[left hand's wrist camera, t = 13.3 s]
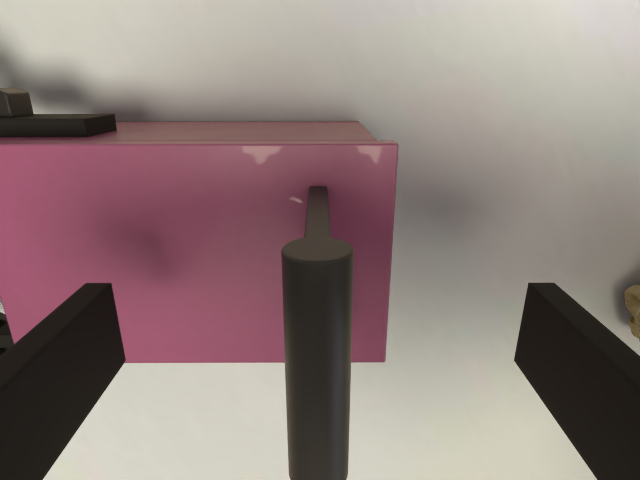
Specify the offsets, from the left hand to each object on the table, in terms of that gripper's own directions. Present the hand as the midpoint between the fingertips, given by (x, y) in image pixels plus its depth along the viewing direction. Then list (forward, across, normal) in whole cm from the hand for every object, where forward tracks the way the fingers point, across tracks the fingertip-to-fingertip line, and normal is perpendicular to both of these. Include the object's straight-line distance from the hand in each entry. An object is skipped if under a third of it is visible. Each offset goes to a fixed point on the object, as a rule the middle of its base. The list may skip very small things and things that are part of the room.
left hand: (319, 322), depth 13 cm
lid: (+5, +5, 0) cm, 7 cm away
